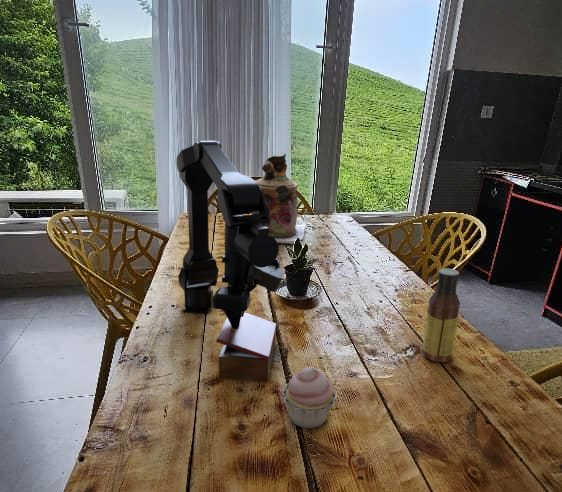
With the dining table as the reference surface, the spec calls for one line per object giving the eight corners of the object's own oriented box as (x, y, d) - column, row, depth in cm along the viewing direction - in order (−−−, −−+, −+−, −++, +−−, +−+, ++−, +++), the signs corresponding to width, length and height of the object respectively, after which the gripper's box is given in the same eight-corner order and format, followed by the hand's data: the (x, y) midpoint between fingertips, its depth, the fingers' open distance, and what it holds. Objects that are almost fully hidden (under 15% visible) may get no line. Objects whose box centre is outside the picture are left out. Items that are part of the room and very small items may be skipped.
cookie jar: (250, 224, 192) (251, 148, 180) (306, 229, 189) (311, 151, 177) (237, 241, 169) (237, 155, 157) (301, 246, 166) (306, 158, 154)
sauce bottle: (451, 352, 99) (468, 268, 91) (451, 366, 93) (469, 279, 86) (420, 346, 101) (435, 264, 93) (419, 360, 95) (434, 274, 88)
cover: (215, 341, 84) (223, 319, 82) (230, 310, 96) (237, 289, 94) (267, 360, 84) (276, 337, 82) (275, 326, 97) (283, 306, 95)
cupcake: (319, 444, 71) (324, 392, 67) (270, 421, 75) (272, 371, 72) (344, 412, 78) (349, 364, 75) (298, 393, 83) (301, 347, 79)
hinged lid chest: (218, 377, 87) (218, 356, 85) (232, 342, 99) (232, 323, 97) (267, 381, 86) (268, 360, 84) (275, 345, 98) (275, 326, 97)
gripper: (276, 270, 74) (272, 350, 80) (286, 238, 92) (282, 306, 97) (211, 264, 75) (211, 344, 81) (233, 233, 92) (232, 301, 98)
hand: (238, 322), depth 89 cm, fingers closed on cover, 5 cm apart
